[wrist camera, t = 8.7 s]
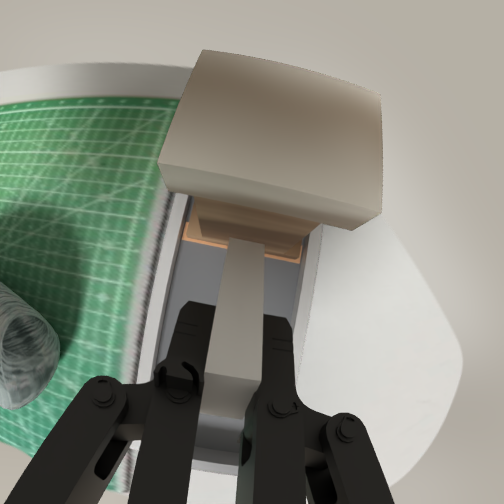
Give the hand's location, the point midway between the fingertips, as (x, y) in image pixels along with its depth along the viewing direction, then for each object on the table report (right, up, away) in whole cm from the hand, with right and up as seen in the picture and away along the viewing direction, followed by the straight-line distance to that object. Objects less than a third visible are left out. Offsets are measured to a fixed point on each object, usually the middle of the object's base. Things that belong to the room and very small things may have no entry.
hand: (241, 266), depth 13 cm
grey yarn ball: (-20, -6, +5) cm, 21 cm away
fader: (0, +2, +6) cm, 7 cm away
